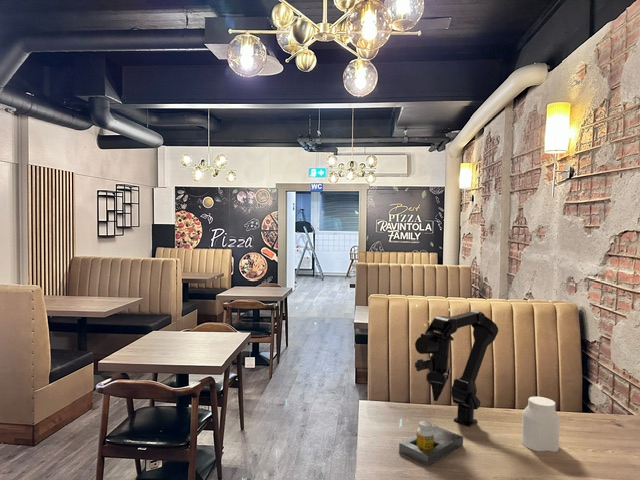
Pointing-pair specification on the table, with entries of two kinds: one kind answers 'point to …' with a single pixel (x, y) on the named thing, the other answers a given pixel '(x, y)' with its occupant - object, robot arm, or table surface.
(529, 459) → the table surface
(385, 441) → the table surface
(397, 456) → the table surface
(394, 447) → the table surface
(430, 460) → the grey slotted block
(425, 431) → the supplement bottle
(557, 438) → the jar
